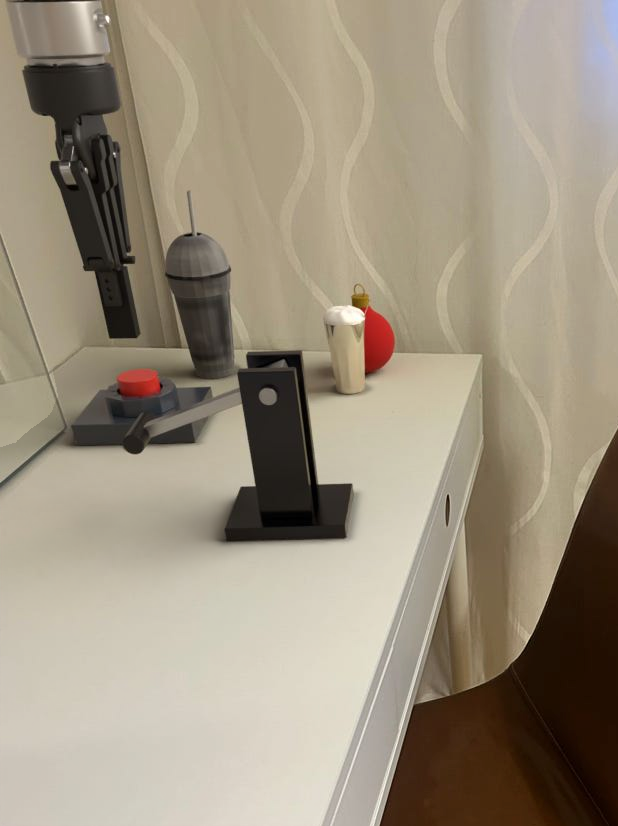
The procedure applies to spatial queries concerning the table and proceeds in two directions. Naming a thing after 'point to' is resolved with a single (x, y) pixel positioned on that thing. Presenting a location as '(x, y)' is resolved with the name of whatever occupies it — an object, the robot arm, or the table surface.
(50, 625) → the table surface
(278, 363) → the lever
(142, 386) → the button
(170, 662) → the table surface
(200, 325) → the beverage cup
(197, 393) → the control block
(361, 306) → the christmas ornament
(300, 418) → the bracket
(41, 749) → the table surface
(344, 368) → the milkshake
